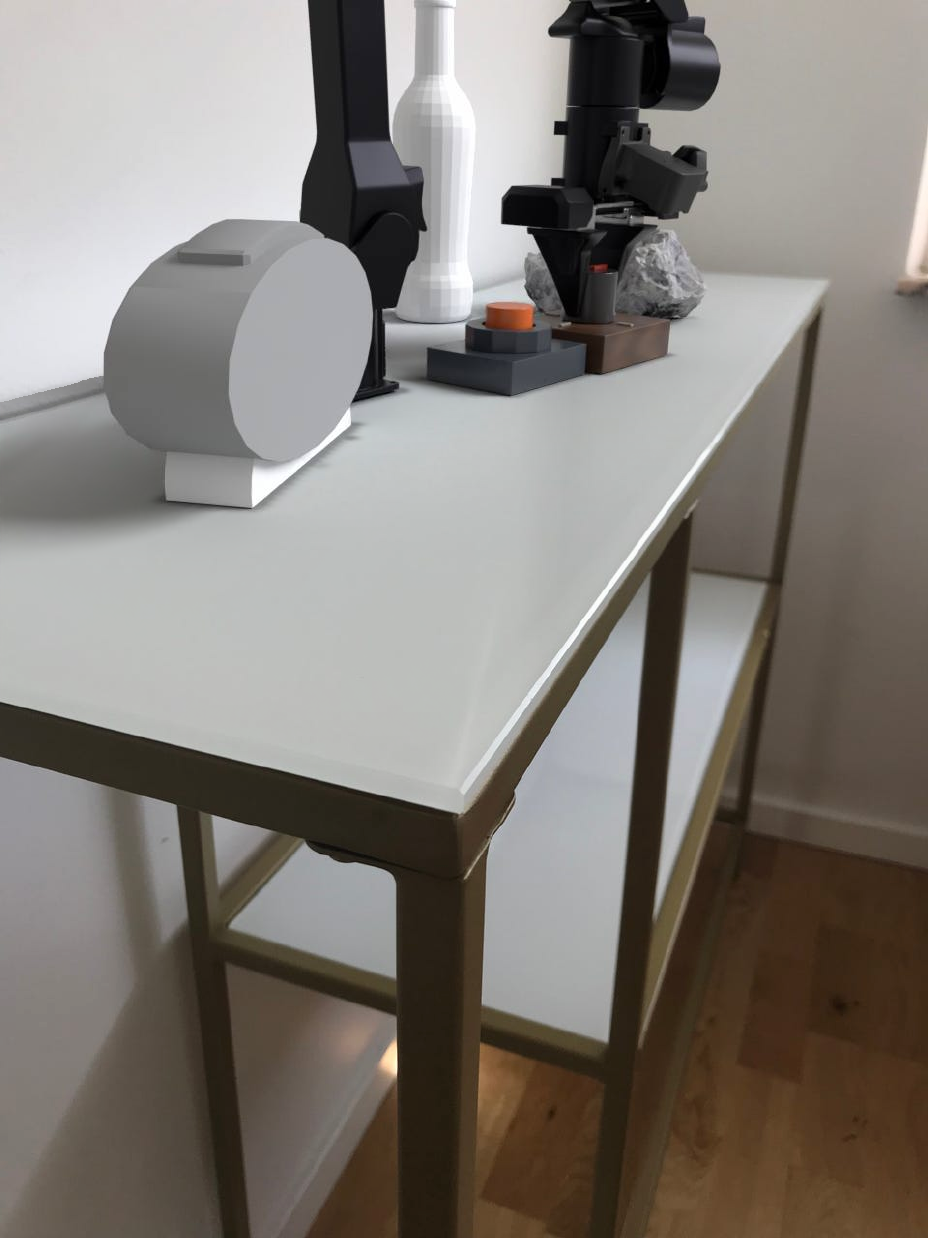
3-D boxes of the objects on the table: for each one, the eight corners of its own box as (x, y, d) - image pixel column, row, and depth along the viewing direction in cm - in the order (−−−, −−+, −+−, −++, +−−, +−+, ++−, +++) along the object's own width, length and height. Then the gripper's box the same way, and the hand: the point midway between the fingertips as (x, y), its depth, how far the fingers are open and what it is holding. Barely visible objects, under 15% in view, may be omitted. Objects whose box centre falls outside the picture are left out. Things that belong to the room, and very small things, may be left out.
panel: (602, 374, 82) (605, 333, 80) (500, 356, 87) (501, 318, 86) (667, 354, 90) (671, 317, 88) (570, 339, 95) (572, 304, 94)
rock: (717, 299, 111) (719, 202, 106) (693, 350, 100) (694, 246, 95) (555, 299, 118) (548, 208, 112) (516, 347, 107) (507, 249, 101)
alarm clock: (287, 407, 70) (276, 205, 64) (374, 413, 69) (371, 208, 63) (117, 520, 49) (80, 236, 44) (239, 531, 48) (216, 242, 43)
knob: (596, 325, 84) (600, 270, 82) (551, 319, 87) (554, 265, 85) (623, 319, 87) (627, 266, 86) (579, 313, 90) (583, 261, 88)
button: (514, 334, 76) (515, 310, 76) (475, 328, 78) (476, 305, 78) (541, 328, 79) (542, 305, 78) (503, 323, 81) (504, 300, 80)
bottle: (486, 316, 106) (497, -25, 93) (444, 327, 100) (448, -37, 87) (422, 308, 110) (423, -20, 97) (376, 318, 104) (371, -32, 91)
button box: (511, 395, 74) (513, 339, 73) (426, 379, 79) (426, 325, 77) (584, 374, 82) (588, 322, 80) (503, 360, 86) (504, 310, 84)
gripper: (634, 103, 69) (614, 340, 76) (749, 111, 83) (723, 312, 89) (500, 103, 75) (493, 322, 82) (627, 110, 89) (612, 298, 95)
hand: (587, 313), depth 87 cm, fingers closed on knob, 4 cm apart
